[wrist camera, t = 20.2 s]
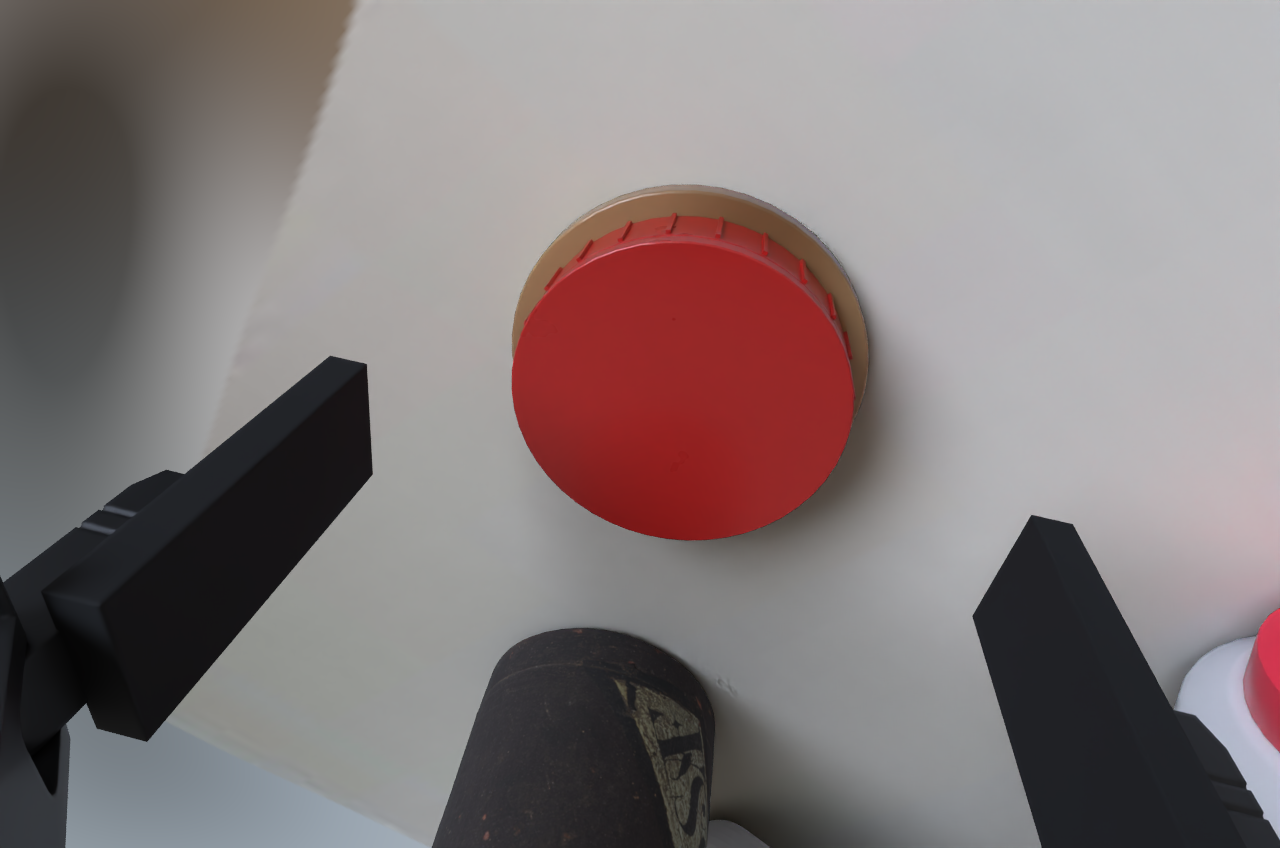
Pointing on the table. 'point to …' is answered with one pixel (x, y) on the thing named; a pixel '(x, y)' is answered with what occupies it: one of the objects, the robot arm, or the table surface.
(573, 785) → the container
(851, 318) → the coaster
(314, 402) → the robot arm
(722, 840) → the button
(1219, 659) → the pill bottle
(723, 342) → the jar lid
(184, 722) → the table surface
